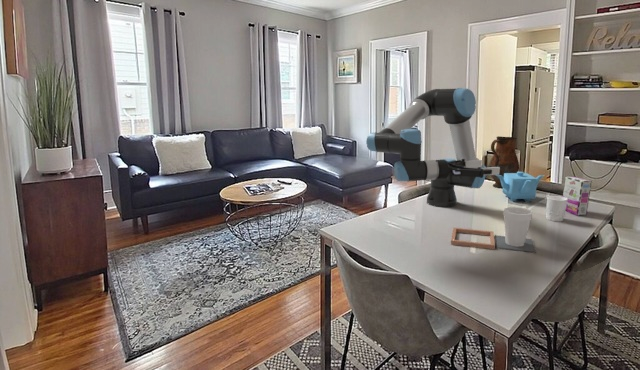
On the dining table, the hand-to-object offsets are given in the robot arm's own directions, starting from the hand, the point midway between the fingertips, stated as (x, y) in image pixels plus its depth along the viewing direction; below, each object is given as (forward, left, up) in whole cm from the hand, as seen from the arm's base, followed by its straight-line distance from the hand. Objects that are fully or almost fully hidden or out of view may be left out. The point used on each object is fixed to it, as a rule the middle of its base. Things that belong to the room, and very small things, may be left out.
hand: (489, 167), depth 147 cm
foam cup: (+11, -3, -29) cm, 31 cm away
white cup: (+30, +34, -29) cm, 54 cm away
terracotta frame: (-4, -3, -29) cm, 29 cm away
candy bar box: (+40, +48, -29) cm, 69 cm away
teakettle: (+18, +65, -29) cm, 74 cm away
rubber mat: (+11, -3, -29) cm, 31 cm away
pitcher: (+10, +91, -29) cm, 96 cm away
